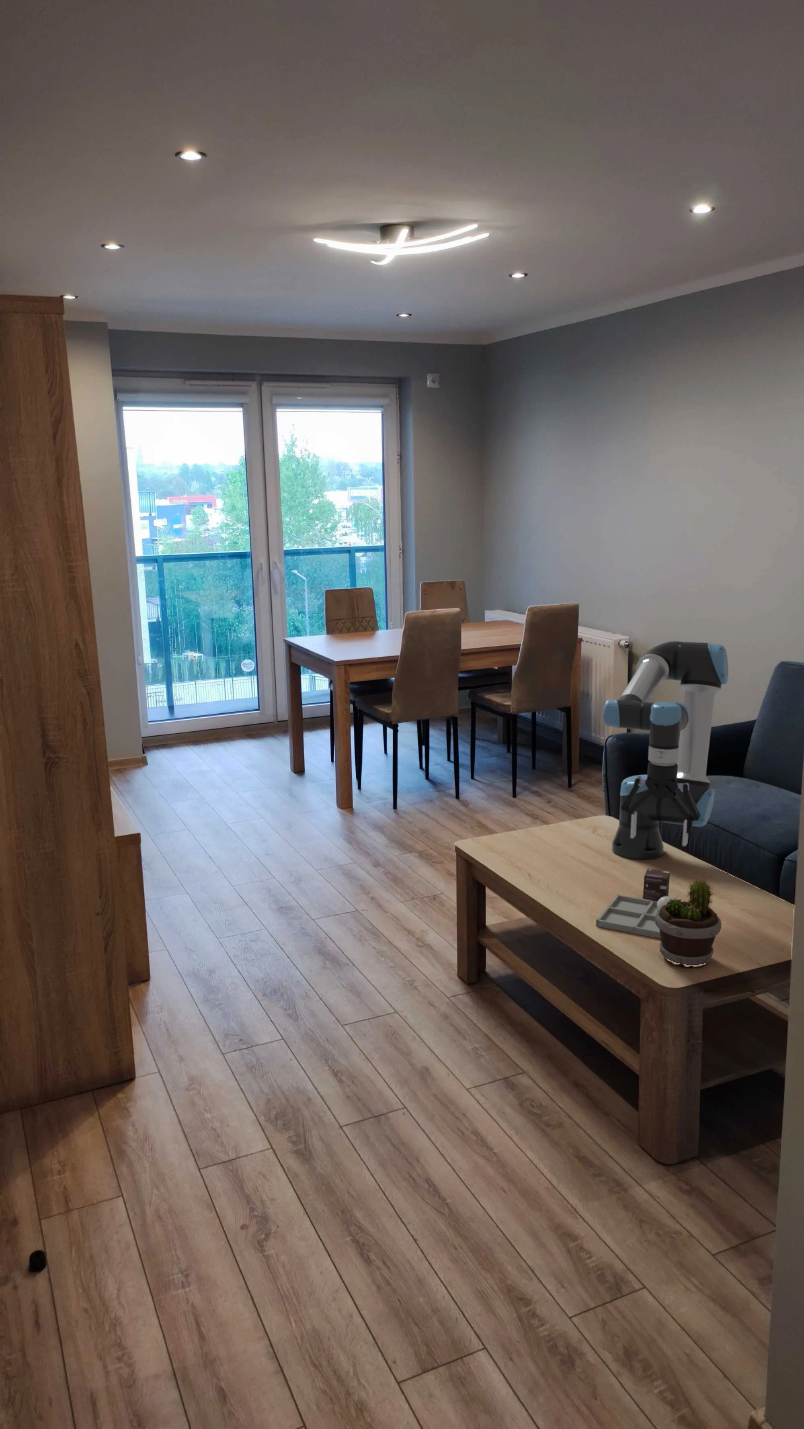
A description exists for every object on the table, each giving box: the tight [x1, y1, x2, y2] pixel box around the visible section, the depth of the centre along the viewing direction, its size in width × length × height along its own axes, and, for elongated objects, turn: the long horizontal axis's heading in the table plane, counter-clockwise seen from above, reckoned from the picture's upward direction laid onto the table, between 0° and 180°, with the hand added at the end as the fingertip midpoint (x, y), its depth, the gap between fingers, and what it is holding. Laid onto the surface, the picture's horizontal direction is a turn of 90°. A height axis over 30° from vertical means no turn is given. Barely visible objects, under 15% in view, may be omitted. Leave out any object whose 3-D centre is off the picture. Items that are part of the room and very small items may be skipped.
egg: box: [657, 895, 674, 911], centre depth 257 cm, size 5×5×5 cm
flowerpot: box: [655, 874, 722, 965], centre depth 231 cm, size 14×15×20 cm
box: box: [642, 868, 671, 902], centre depth 268 cm, size 6×6×7 cm
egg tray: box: [595, 893, 661, 939], centre depth 255 cm, size 19×19×2 cm
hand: (658, 840), depth 265 cm, fingers open, 13 cm apart
